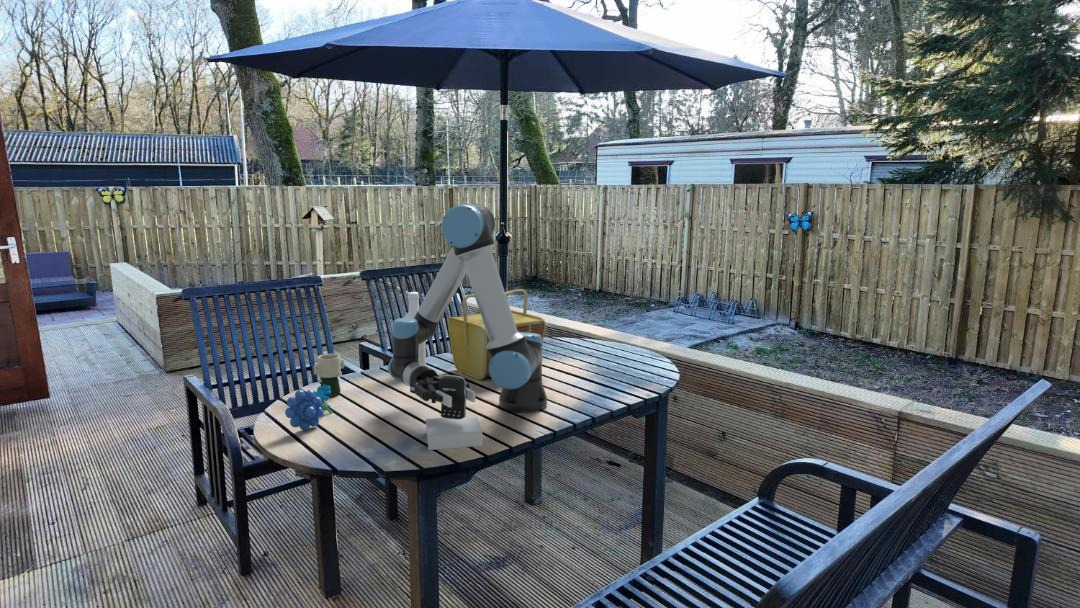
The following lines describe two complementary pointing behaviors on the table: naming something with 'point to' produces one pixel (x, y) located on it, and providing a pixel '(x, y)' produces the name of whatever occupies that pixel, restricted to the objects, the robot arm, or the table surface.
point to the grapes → (304, 409)
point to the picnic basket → (483, 337)
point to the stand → (453, 433)
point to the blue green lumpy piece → (324, 396)
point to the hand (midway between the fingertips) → (462, 399)
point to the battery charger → (454, 396)
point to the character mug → (329, 371)
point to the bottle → (413, 309)
